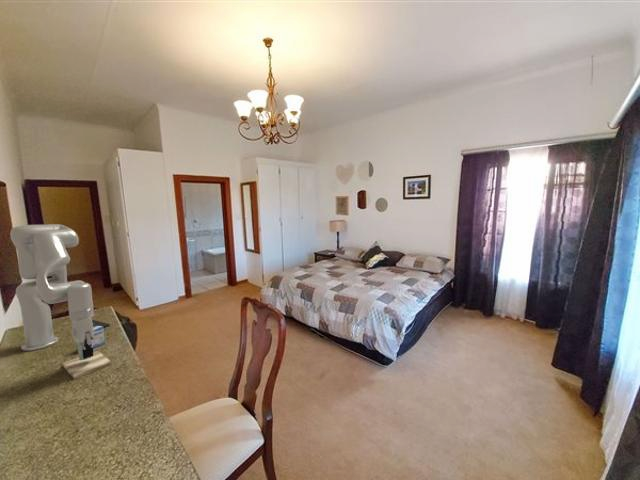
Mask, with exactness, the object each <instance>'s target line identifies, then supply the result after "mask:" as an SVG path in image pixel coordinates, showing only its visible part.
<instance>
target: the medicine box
mask: <svg viewBox="0 0 640 480" xmlns="http://www.w3.org/2000/svg"><path fill="white" fill-rule="evenodd" d="M104 329H105V328H104ZM104 329H103V326H95V327H93V330H94V339H93V340H92V344H93V349H95V348H97V347H100V346H101V345H104V344H105V341H106V340H105V331H104Z"/></svg>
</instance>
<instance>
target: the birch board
mask: <svg viewBox="0 0 640 480" xmlns="http://www.w3.org/2000/svg"><path fill="white" fill-rule="evenodd" d="M93 354H94V356H93V357H91V358H89V359H86V360H79V356H78V357H76V358H73V359H71V360H67V361H64V362H62V367H63V368H64V369H65V371H67V372H68V374H69V375H70V376H71V377H72V379H75V380H76V379H77V378H80V377H82V376H85V375H88V374H90V373H93V372H96V371H98V370H100V369H104V368H106V367H108V366H111V365H112V361H111V360H110V359H109V358H107V357H106V356H105V355H104V354H103V353H102V352H100V351H99V350H96V351H93Z"/></svg>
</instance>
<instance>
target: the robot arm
mask: <svg viewBox="0 0 640 480" xmlns="http://www.w3.org/2000/svg"><path fill="white" fill-rule="evenodd" d="M9 237H10V241H11V242H12V244H13V246H14V247H15V249H16V251H17V252H16V253H17V260H18V261H17V262H18V272H19V276H20V277H21V279H23V280H31V281H26V282H23V283H21V284H19V285H18V286H17V287H16V289H15V294H16V298H17V301H18V303H19V306H20V312H21V318H22V325H23V334H24V343H23V344H22V345H21V346H20V348H21V350H22V351H25V352H26V351H36V350H40V349H43V348H47V347H49V346H52V345H54V344H56V343H57V342H58V341H59V337H58V336H56V335H54V329H53V320H52V311H51V306H50V305H52V304H53V305H54V304H58V303H62V302H67V306H68V315H69V316H68V317H69V320H70V321H71V334H72V335H71V336H72V340H73V341H75V342H76V344H77V343H79V344H81V343H82V344H83V349H82V352H83V358H84V359H86V358H88V357H91V356H93V352H94V348H93V346H92V340H93V339H94V330H93V323H92V320H93V317H94V316H95V313H94V311H95V310H94V309H95V308H94V301H93V290H92V286H91V284H90V283H89V282H85V281H83V280H79V279H78V280H73V281H68V278H67V277H68V273H67V265H68V264H69V263H70V262H71V257H70V255H69V253H68V251H67V249H66V248H75V247H76V246H78V245H79V243H80V242H79V241H80V240H79V239H80V238H79V236H78V233H77V232H76V231H75V230H73V229H72V228H70V227H68V226H66V225H63V224H58V223H55V224H54V223H49V224H26V225H25V224H24V225H17V226H14V227H12V228H11V230H10V235H9ZM49 277H50V278H49ZM84 340H87V341H84ZM85 343H87V344H86V345H85Z"/></svg>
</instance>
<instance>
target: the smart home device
mask: <svg viewBox="0 0 640 480" xmlns="http://www.w3.org/2000/svg"><path fill="white" fill-rule="evenodd" d="M92 323H93V327H95V326H103V328H104V329H106V327H107V328H108V326H109V327H110V324H109V323H108V322H107V323H106V322H102V321H99V320H95V319H92Z"/></svg>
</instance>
